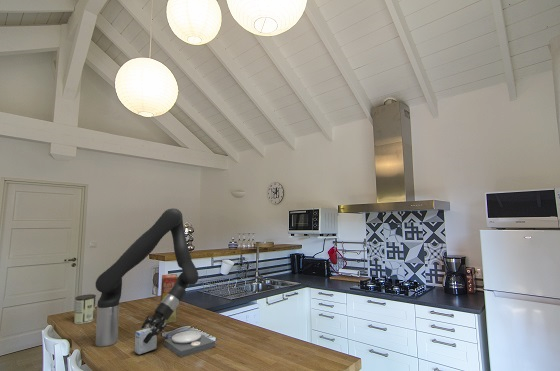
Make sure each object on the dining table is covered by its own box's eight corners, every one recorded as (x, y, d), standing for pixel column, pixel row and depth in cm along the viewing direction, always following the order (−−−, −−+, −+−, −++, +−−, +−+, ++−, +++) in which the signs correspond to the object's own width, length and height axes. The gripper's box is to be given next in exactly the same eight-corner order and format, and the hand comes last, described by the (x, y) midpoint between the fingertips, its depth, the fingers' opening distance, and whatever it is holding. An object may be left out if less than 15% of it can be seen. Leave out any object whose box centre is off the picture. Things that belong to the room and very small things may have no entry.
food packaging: (177, 321, 179) (178, 277, 182) (159, 324, 175) (161, 278, 178) (176, 315, 191) (177, 273, 194) (159, 317, 188) (160, 274, 190)
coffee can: (82, 318, 188) (83, 294, 190) (98, 318, 187) (99, 294, 189) (69, 323, 178) (70, 298, 179) (86, 324, 177) (87, 298, 178)
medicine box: (151, 346, 142) (152, 326, 143) (156, 349, 139) (157, 328, 140) (134, 352, 136) (135, 331, 137) (139, 354, 133) (139, 333, 134)
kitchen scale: (164, 345, 145) (164, 336, 145) (196, 336, 155) (196, 328, 156) (180, 357, 131) (181, 347, 132) (214, 347, 142) (214, 337, 142)
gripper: (154, 299, 150) (128, 333, 139) (171, 304, 141) (144, 340, 130) (163, 308, 153) (139, 341, 142) (181, 313, 144) (156, 349, 134)
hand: (141, 341), depth 136 cm, fingers closed on medicine box, 4 cm apart
